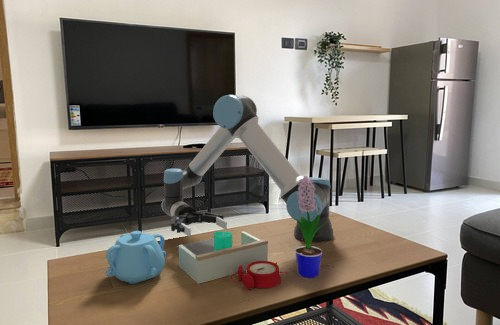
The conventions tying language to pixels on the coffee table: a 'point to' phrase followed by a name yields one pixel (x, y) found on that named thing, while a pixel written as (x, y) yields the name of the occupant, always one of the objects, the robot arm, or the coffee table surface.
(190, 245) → the slate tile
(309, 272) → the hyacinth
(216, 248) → the candle
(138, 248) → the decorative pot
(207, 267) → the white u-shaped frame
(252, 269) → the alarm clock
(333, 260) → the coffee table surface
